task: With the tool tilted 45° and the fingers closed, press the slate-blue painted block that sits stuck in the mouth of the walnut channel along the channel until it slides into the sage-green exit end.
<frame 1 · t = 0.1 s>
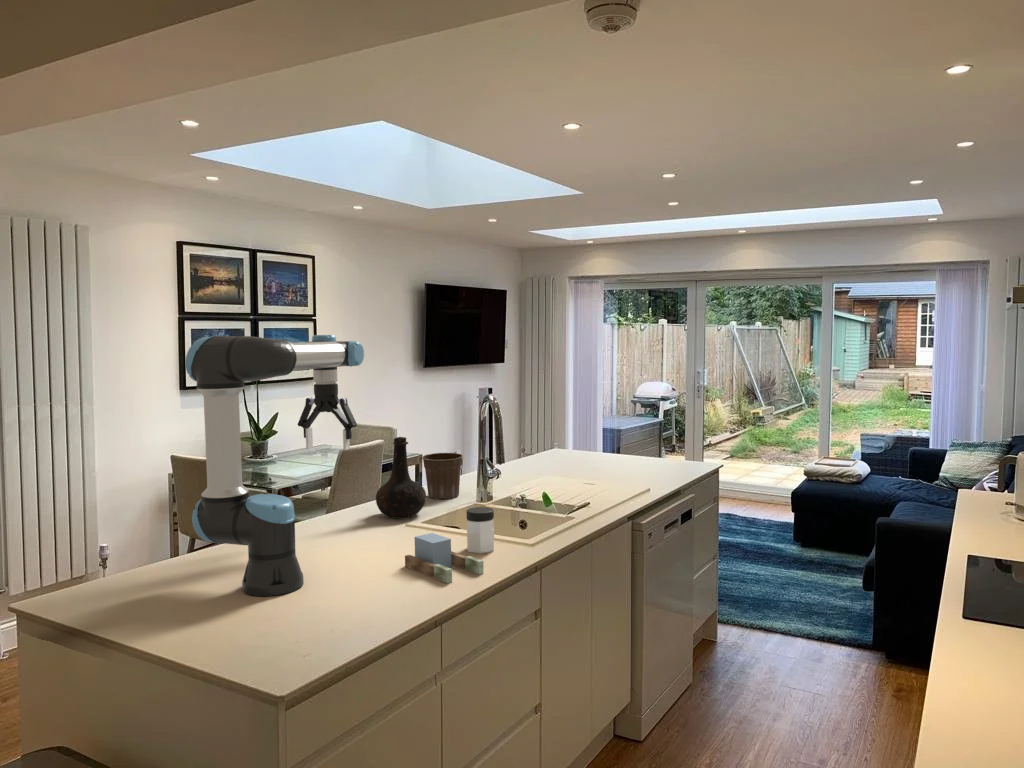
hand: (327, 448, 247), 28 cm above the counter, tool pointing down, fingers open, 13 cm apart
block: (433, 566, 214), on the counter
jar: (480, 550, 229), on the counter
plant pot: (443, 496, 303), on the counter
chute: (443, 569, 210), on the counter
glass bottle: (401, 516, 272), on the counter
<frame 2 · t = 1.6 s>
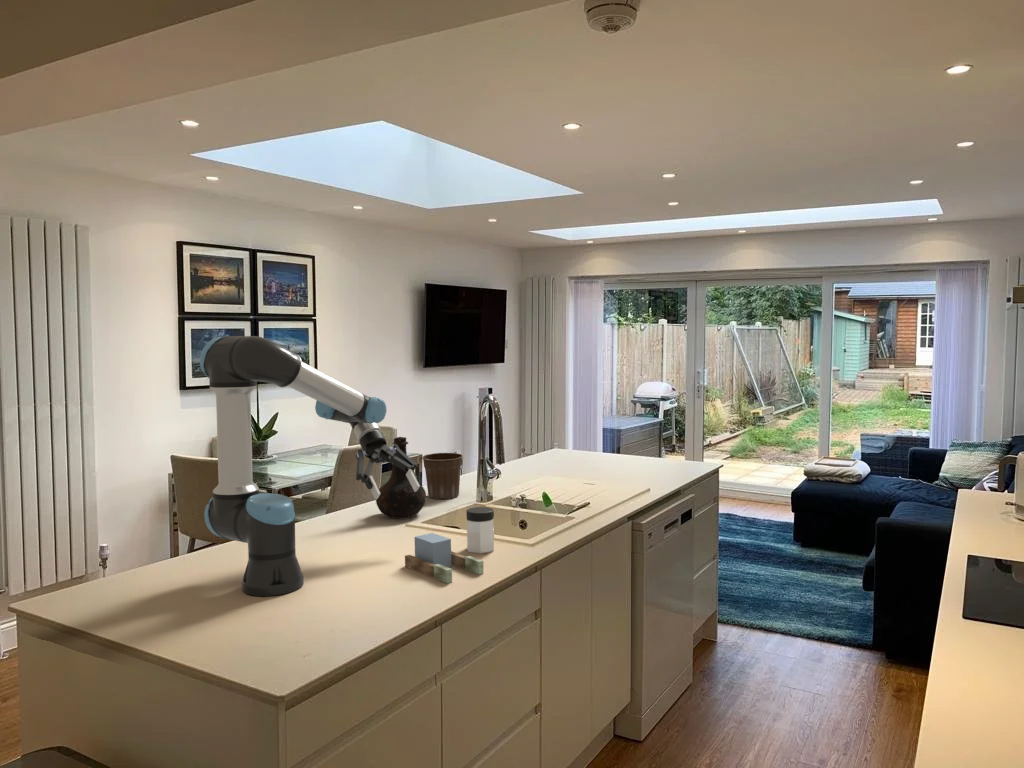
hand: (398, 492, 226), 18 cm above the counter, tool tilted 45°, fingers open, 13 cm apart
nothing on the counter moved.
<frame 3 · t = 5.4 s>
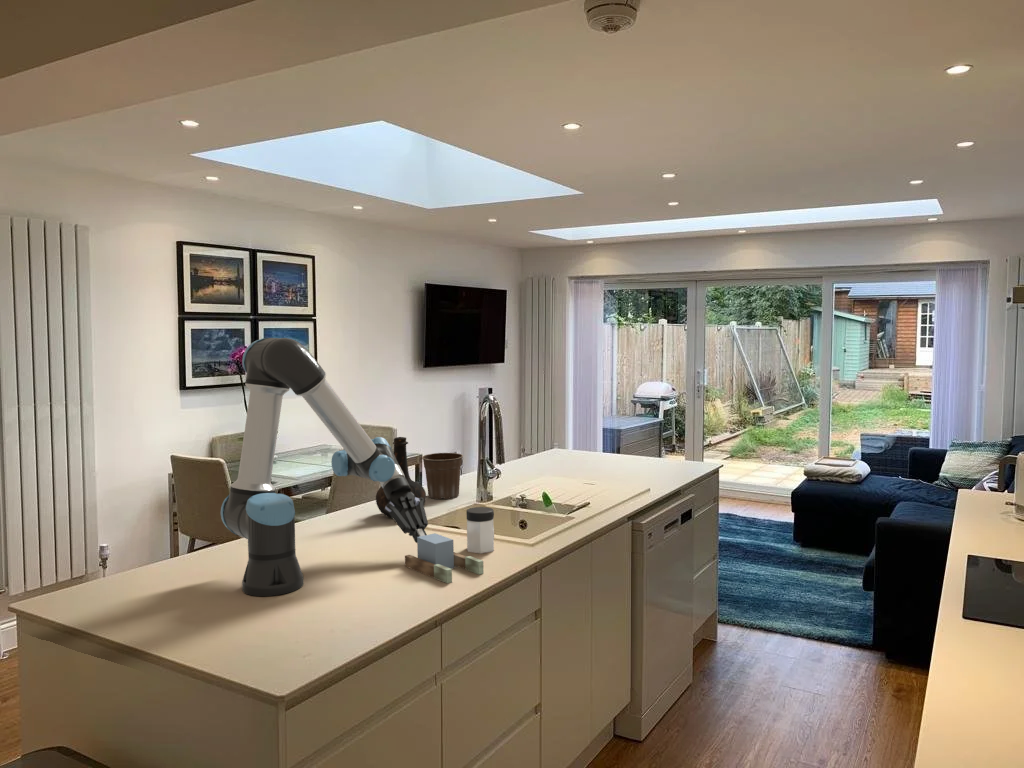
hand: (426, 550, 218), 3 cm above the counter, tool tilted 45°, fingers closed
block: (435, 566, 213), on the counter, touching gripper
everything else where it was.
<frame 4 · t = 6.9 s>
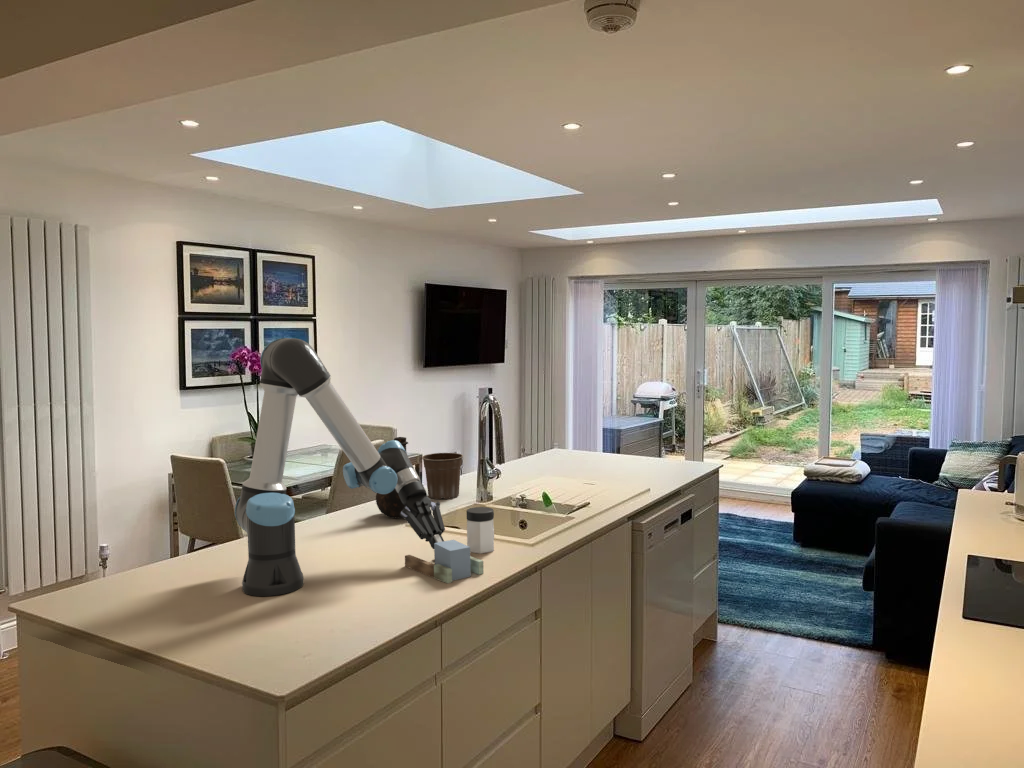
hand: (444, 556, 211), 3 cm above the counter, tool tilted 45°, fingers closed
block: (452, 574, 206), on the counter, touching gripper
everything else where it was.
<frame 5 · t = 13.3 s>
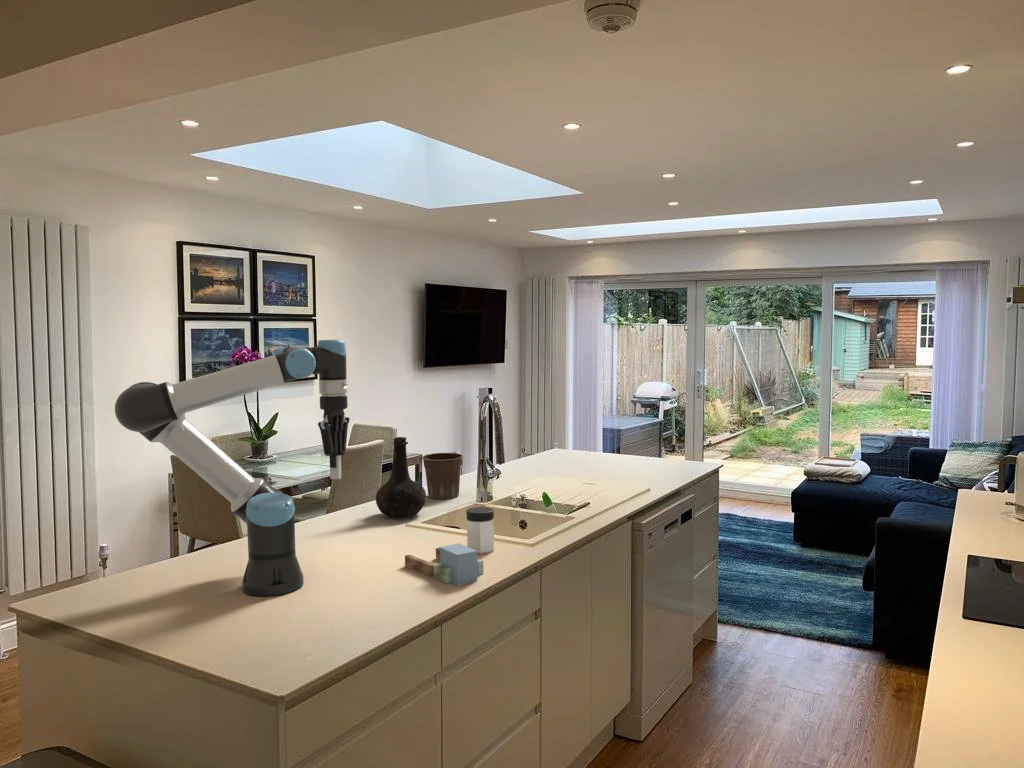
hand: (335, 478, 215), 24 cm above the counter, tool pointing down, fingers closed
block: (458, 578, 203), on the counter
everything else where it was.
at the end: block inside the target area (1.6 cm from its centre), on the counter; block tilted 0°; block moved 13.7 cm from its start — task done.
